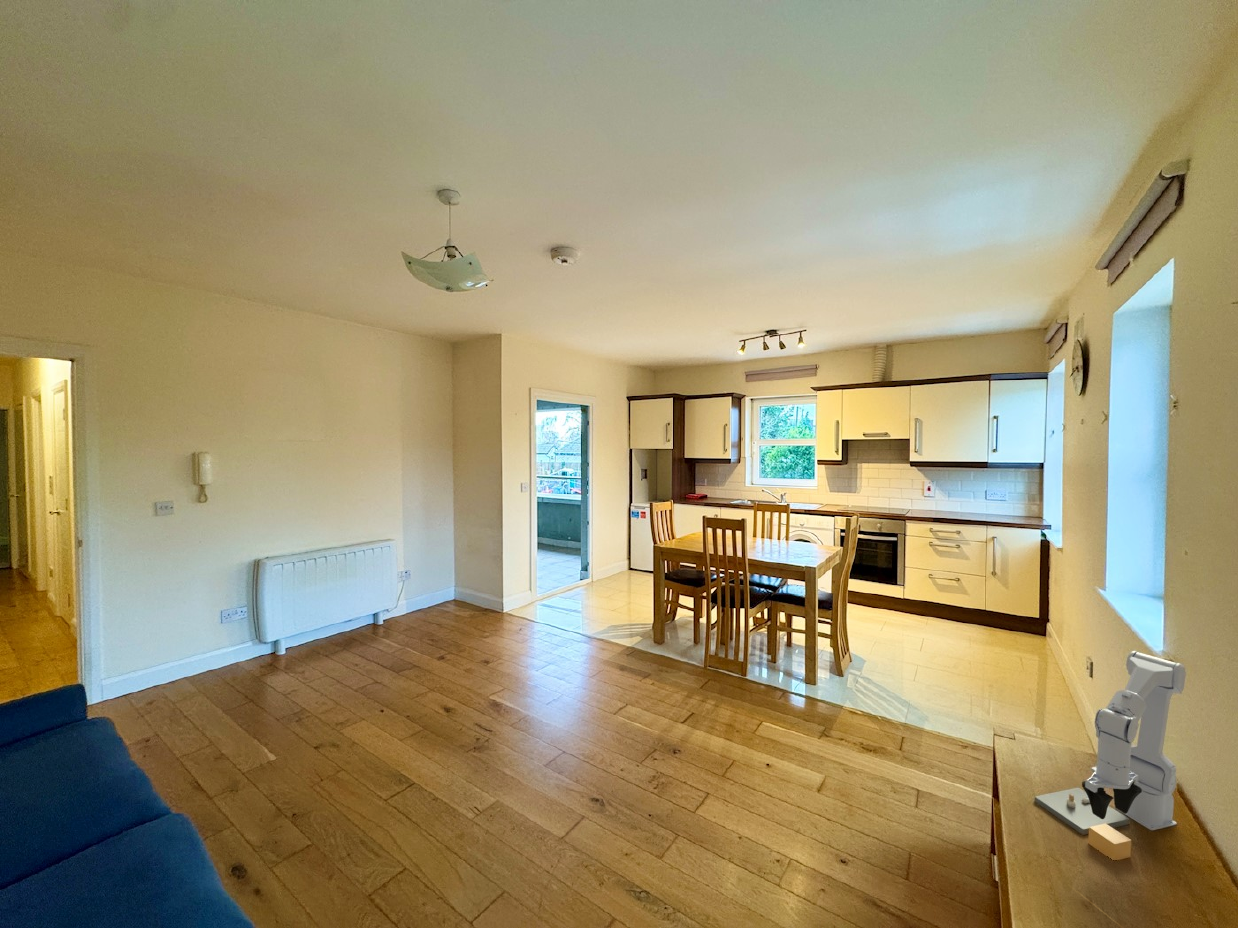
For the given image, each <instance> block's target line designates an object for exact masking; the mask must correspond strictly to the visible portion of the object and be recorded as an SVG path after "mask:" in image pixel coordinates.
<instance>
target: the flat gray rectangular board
mask: <svg viewBox="0 0 1238 928" xmlns="http://www.w3.org/2000/svg"><path fill="white" fill-rule="evenodd" d="M1034 803H1036V804H1037V805H1039V806H1040V807H1042V808H1043V809H1045V810H1046V811H1048V812H1049V813H1051V815H1053V816H1055V817H1056V818H1058V819H1059V820H1060V821H1062V822H1063V823H1065V824H1066V825H1067V826H1069V827H1070V828H1072V829H1074V830H1075V831H1076V832H1078V833H1080V834H1081V835H1082V836H1084V835H1089V827H1092V826H1096V825H1100V824H1105V823H1106V824H1107V825H1109V826H1110V827H1112V828H1113V829H1115V828H1119V827H1123V826H1127V825H1129V824H1130V817H1128V816H1127V815H1125V814H1123V813H1122V812H1120V811H1118V810H1117V809H1114V808H1112V807H1111V806H1110V805H1108V808H1107V812H1106V816H1105V818H1104V819H1101V818H1099V817H1097V816H1096V815H1094V814H1093V812H1092V808H1091V805H1090V801H1089V798H1088V796H1087V794H1086V792H1085V790H1084V789H1081V788H1080V787H1074V788H1069V789H1064V790H1060V791H1054V792H1050V793H1045V794H1041V795H1036V796H1034Z"/></svg>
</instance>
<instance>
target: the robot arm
mask: <svg viewBox="0 0 1238 928" xmlns="http://www.w3.org/2000/svg"><path fill="white" fill-rule="evenodd" d="M1125 663H1126V665H1125V666H1126V670H1127V673H1128V676H1129V678H1128V682H1127V684H1126V686H1125V689H1123V690H1122V689H1120V690H1117V691H1116V692H1115V693H1114V695H1113V696H1112V698H1111V699H1110V701H1109V703H1108V704H1107V706H1106V707H1105V708H1099V709H1097V711H1096V714H1095V718H1094V728H1095V736H1096V738H1097V739H1098V741H1097V752H1096V753H1097V754H1096V755H1097V756H1096V766H1093V767H1091V768H1090V770H1091V772H1092V774H1091V776H1090V777H1089V778H1087V779H1085V781H1082V782H1081V787H1082V788H1083V791H1085V792H1086V794H1087V796H1088V798H1089V801H1090V805H1091V808H1092V812H1093V814H1094V815H1096V816H1097V817H1099V818H1101V819H1104V818H1105V816H1106V812H1107V808H1108V806H1110V803H1111V802H1112V800H1113V801H1114V803H1113V805H1114V808H1115V810H1116V811H1118V812H1119V813H1121V814H1122V815H1124V816H1126V817H1127V818H1129V819H1132V820H1133V821H1135V822H1136V823H1138V824H1140V825H1141V826H1143V827H1145V828H1147V829H1148V830H1149V831H1155V830H1160V829H1164V828H1168V827H1173V826H1176V825H1177V822H1176V821H1175V820H1173V817H1174V816H1173V815H1174V804H1175V799H1174V796H1173V793H1174V792H1175V790H1176V786H1177V781H1178V780H1177V768H1176V765H1175V764H1174V762H1172V761H1171V760H1170V759H1169V758H1168V757H1167V756H1166V755H1165V754H1164V753H1163V750H1164V743H1165V737H1166V730H1167V723H1168V718H1169V717H1168V716H1169V710H1170V704H1171V699H1172V696H1173V694H1183V691H1184V689H1185V681H1186V676H1187V675H1186V674H1187V673H1186V668H1185V666H1184V664H1183V663H1180V662H1174V661H1170V660H1167V659H1163V658H1160V657H1156V656H1153V655H1149V654H1145V653H1143V652H1139V651H1137V650H1132V651H1130V652H1129V653H1128V656H1127V658H1126V662H1125ZM1139 721H1140V723H1139ZM1137 732H1138V733H1137ZM1137 734H1138V735H1137ZM1136 737H1137V743H1136V744H1135V745H1134V744H1133V745H1132V743H1134V741H1135V739H1136ZM1105 789H1113V790H1112V791H1113V796H1112V795H1110V794H1108V792H1107V791H1106V790H1105Z"/></svg>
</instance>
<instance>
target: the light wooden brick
mask: <svg viewBox="0 0 1238 928" xmlns="http://www.w3.org/2000/svg"><path fill="white" fill-rule="evenodd" d="M1087 843H1088V845H1090V846H1092V848H1094V849H1095V850H1097V851H1098V850H1099V851H1098V852H1099V853H1102V854H1103V856H1105V857H1107V856H1109V858H1108V859H1110V858H1111V859H1112V860H1111V859H1110V860H1111V861H1113V860H1117V861H1120V860H1124V859H1127V858H1128V859H1129V858H1131V849H1132V839H1130V838H1129V837H1128V836H1126V835H1125V834H1123V833H1121V832H1119V831H1118V830H1117V829H1115V828H1112V827H1110V826H1109V825H1107V824H1106V823H1105V824H1100V825H1096V826H1092V827H1089V834H1088V841H1087Z"/></svg>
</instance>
